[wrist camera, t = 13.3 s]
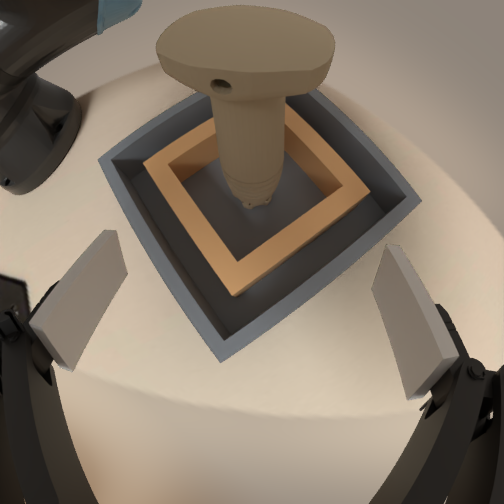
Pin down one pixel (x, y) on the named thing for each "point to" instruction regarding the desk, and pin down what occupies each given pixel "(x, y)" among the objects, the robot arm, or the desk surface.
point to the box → (254, 214)
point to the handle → (248, 82)
